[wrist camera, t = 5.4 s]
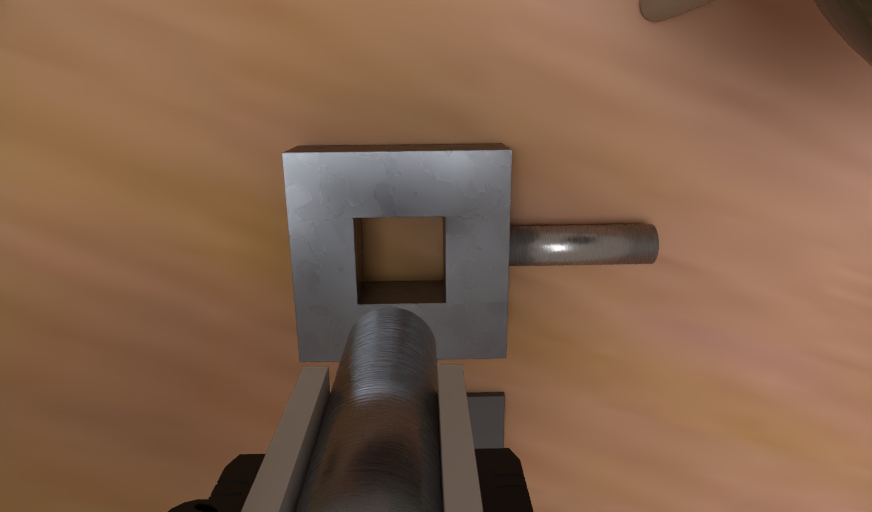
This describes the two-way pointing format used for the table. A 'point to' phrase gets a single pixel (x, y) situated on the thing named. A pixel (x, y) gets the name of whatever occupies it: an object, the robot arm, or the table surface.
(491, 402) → the mat
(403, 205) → the block
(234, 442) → the table surface
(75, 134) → the table surface
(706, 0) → the planter
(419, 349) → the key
